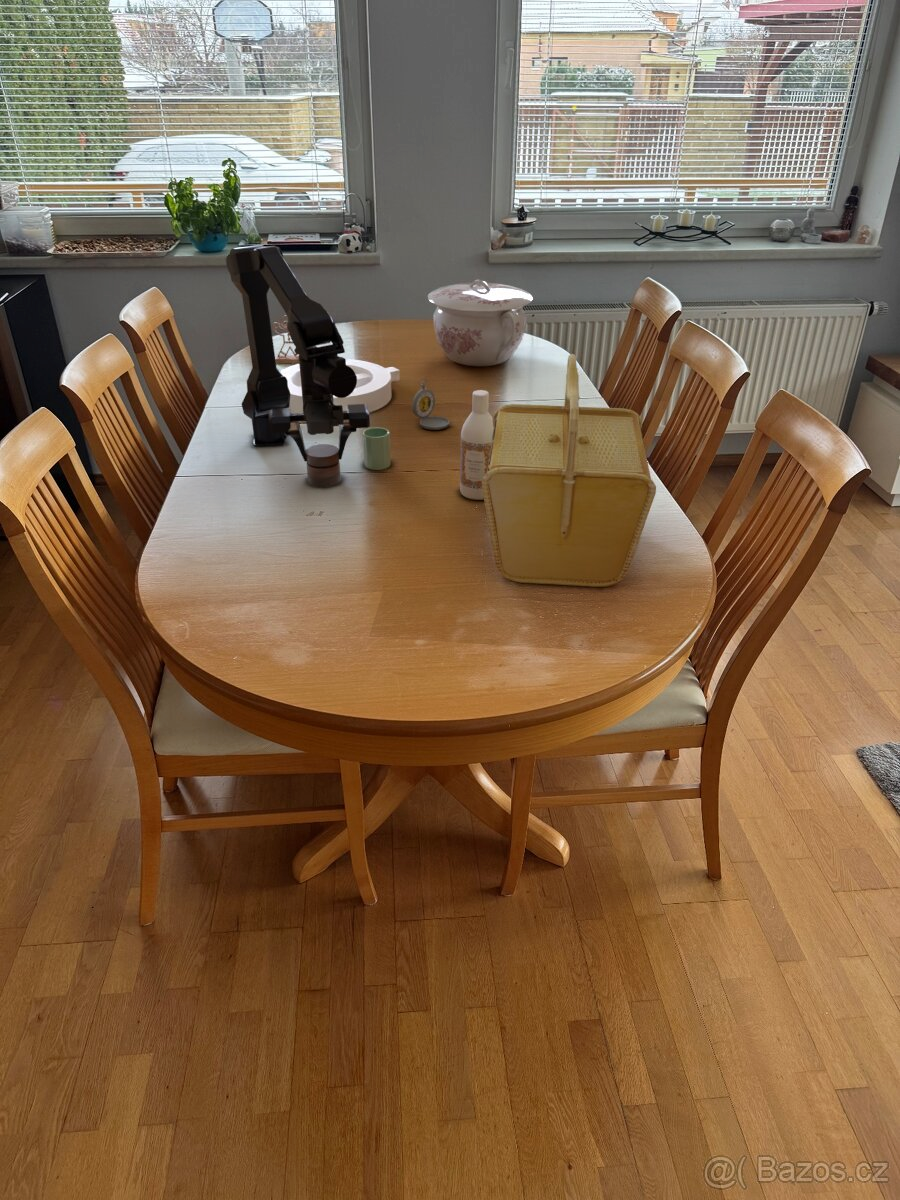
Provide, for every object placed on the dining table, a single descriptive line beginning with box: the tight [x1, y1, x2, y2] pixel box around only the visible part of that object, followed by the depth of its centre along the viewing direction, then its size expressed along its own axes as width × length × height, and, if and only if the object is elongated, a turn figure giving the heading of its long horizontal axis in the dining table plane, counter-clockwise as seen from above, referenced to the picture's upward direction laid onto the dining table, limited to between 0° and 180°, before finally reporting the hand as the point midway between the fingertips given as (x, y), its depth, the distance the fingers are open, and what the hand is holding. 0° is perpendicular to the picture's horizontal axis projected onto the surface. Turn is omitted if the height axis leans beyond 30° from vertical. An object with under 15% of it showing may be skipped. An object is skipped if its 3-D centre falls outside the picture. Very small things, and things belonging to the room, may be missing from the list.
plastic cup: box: [362, 427, 391, 471], centre depth 178 cm, size 5×5×7 cm
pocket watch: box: [411, 377, 450, 431], centre depth 196 cm, size 8×8×10 cm
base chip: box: [307, 471, 342, 488], centre depth 173 cm, size 6×6×2 cm
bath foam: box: [459, 389, 494, 501], centre depth 164 cm, size 7×7×20 cm
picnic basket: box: [482, 353, 657, 588], centre depth 143 cm, size 29×26×30 cm
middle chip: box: [306, 460, 341, 478], centre depth 172 cm, size 6×6×2 cm
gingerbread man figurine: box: [272, 314, 299, 364], centre depth 232 cm, size 9×4×12 cm, turn 85°
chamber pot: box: [427, 279, 534, 368], centre depth 232 cm, size 28×28×21 cm
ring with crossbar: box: [279, 358, 401, 414], centre depth 212 cm, size 28×28×5 cm
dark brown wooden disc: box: [305, 443, 340, 467], centre depth 171 cm, size 6×6×2 cm
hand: (322, 459), depth 171 cm, fingers closed on dark brown wooden disc, 6 cm apart
